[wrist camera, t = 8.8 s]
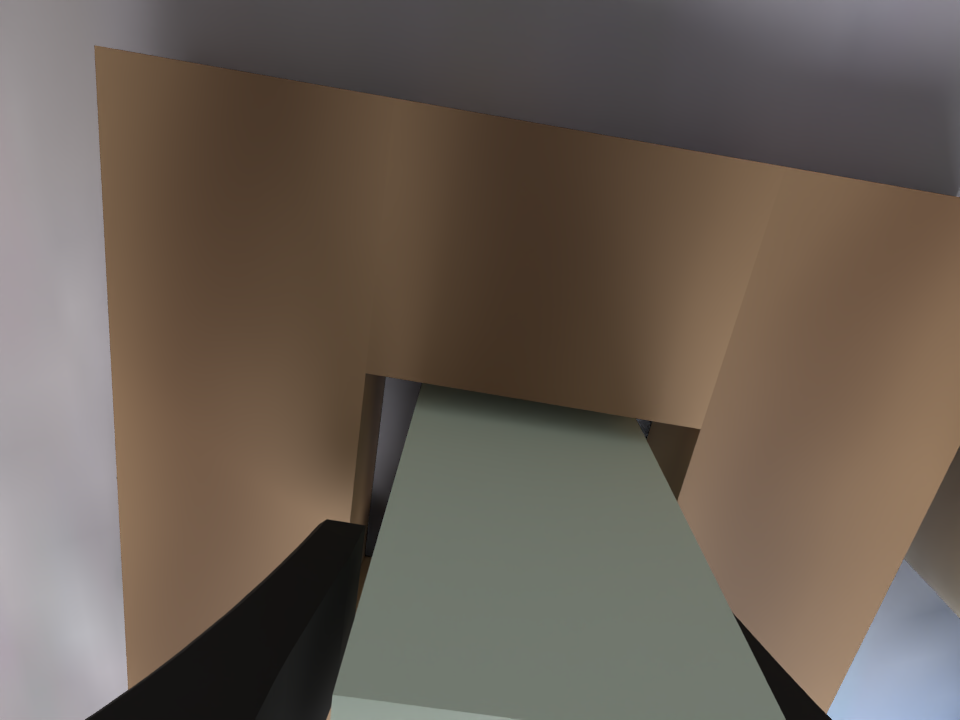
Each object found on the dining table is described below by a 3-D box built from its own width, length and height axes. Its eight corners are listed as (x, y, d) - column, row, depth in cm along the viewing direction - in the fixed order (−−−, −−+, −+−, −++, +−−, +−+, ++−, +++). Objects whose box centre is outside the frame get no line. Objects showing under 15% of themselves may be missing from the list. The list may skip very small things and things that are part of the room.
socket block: (957, 199, 11) (1073, 217, 9) (723, 747, 16) (759, 849, 14) (180, 63, 11) (94, 45, 8) (185, 663, 16) (131, 752, 13)
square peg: (620, 388, 13) (804, 756, 5) (580, 547, 14) (680, 1020, 7) (428, 359, 13) (333, 693, 5) (407, 523, 14) (307, 976, 6)
